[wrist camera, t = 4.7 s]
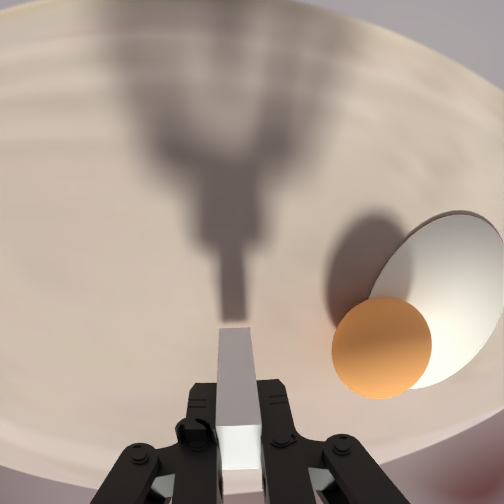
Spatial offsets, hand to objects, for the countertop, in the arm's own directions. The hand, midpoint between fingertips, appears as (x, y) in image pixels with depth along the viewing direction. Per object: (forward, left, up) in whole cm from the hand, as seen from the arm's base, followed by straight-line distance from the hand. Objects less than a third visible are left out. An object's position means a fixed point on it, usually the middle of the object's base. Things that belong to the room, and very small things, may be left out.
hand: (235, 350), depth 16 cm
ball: (0, +8, +1) cm, 8 cm away
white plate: (0, +14, -2) cm, 14 cm away
